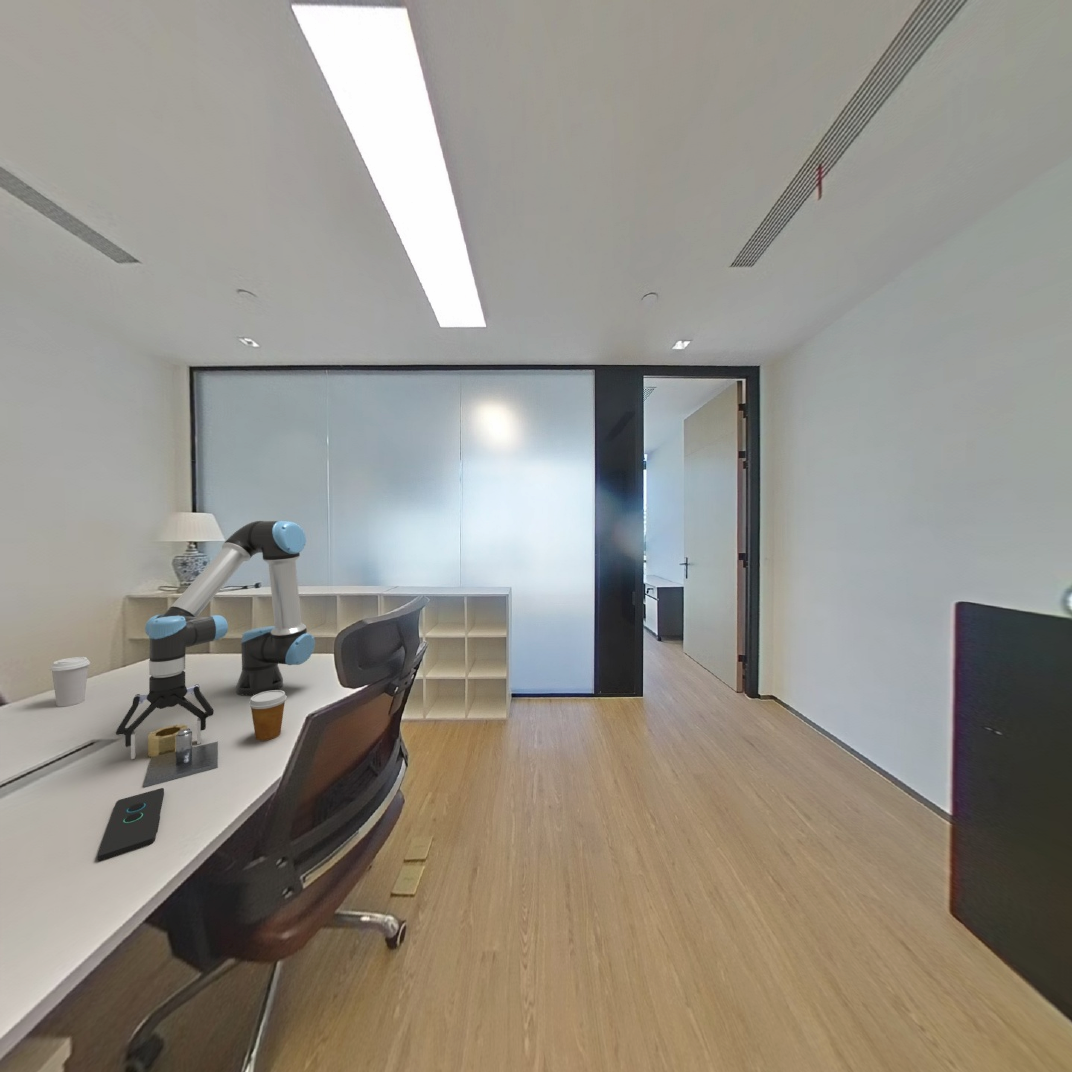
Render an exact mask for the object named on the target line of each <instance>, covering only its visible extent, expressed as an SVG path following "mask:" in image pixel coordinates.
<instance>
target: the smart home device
mask: <svg viewBox="0 0 1072 1072" xmlns="http://www.w3.org/2000/svg"><path fill="white" fill-rule="evenodd" d="M164 796H165V789H164V788H163V787H161V788H157V789H153V790H150V791H146V792H142V793H138V794H136V795H131V796H128V797H125V798H121V799H118V800H117V801H116V802H115V803H114V804H115V805H114V807H113V810H112V812H111V814H110V818H109V821H108V824H107V826H106V829H105V832H104V835H103V837H102V840H101V842H100V845H99V848H98V850H97V853H96V855H97V862H102V861H104V860H108V859H111V858H114V857H117V856H120V855H123V854H126V853H129V852H132V851H136V850H139V849H141V848H144V847H147V846H149V845H152V844H154V843H155V841H156V838H157V832H158V831H159V825H160V820H161V812H162V807H163V802H164Z"/></svg>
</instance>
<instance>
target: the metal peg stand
mask: <svg viewBox="0 0 1072 1072" xmlns="http://www.w3.org/2000/svg"><path fill="white" fill-rule="evenodd" d="M218 756H219V742H218V741H217V740H216V741H215V742H213V741H212V742H210V743H209V742H208V743H205V744H202V745H197V746H193V731H191V729H190V728H187V729H183V730H180V731H178V734H177V735H176V751H175V752H171V753H167V754H163V755H159V756H154V757H150V760H149V764H148V768H147V771H146V775H145V778H144V781H143V788H146V787H150V786H154V785H157V784H160V783H165V782H168V781H173V780H177V779H180V778H184V777H187V776H191V775H194V774H195V775H196V774H199V773H202V772H206V771H210V770H214V769H217V768H219V764H218V763H219V761H218V759H219V757H218Z"/></svg>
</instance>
